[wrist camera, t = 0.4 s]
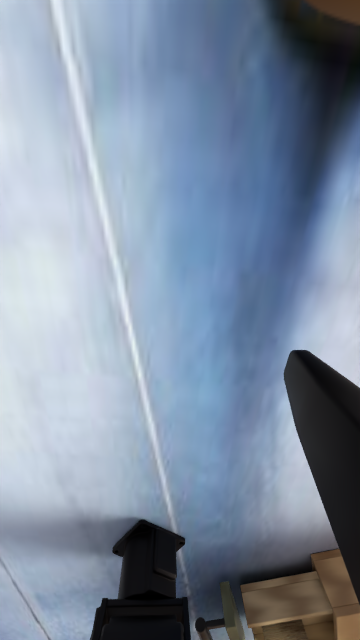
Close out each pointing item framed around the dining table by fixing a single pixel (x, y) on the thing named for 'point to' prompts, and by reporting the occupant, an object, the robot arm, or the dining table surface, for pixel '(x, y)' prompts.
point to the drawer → (275, 608)
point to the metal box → (285, 631)
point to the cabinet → (338, 593)
